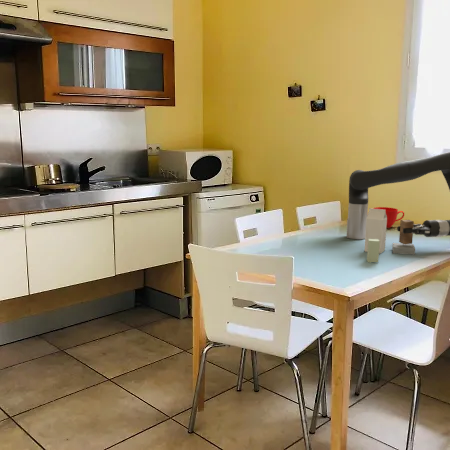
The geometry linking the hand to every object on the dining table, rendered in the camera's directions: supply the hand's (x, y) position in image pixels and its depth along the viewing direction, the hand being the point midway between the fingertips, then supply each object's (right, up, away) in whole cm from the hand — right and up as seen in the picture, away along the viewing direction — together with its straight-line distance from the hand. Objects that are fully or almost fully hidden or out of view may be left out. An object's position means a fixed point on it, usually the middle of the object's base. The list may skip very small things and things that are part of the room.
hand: (400, 229), depth 229 cm
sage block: (-16, -13, -14) cm, 25 cm away
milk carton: (-11, -10, +2) cm, 15 cm away
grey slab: (+2, -10, +2) cm, 10 cm away
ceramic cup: (+12, +1, +56) cm, 57 cm away
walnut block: (+3, -6, +2) cm, 7 cm away
